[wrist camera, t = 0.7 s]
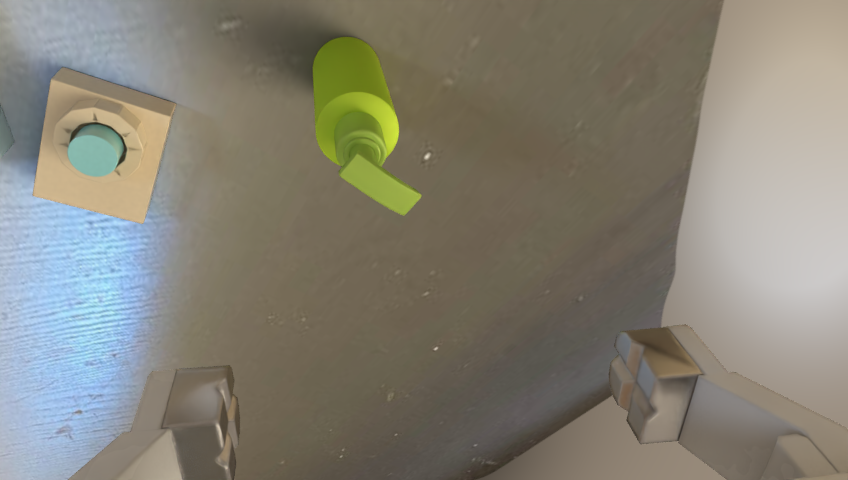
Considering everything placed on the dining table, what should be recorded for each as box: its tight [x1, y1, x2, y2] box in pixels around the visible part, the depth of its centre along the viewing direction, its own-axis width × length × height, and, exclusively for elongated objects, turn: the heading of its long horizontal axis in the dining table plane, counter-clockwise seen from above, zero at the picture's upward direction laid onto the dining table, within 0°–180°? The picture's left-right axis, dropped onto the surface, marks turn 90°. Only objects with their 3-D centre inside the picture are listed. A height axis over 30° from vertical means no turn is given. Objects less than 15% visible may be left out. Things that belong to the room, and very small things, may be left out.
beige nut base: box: [33, 67, 176, 224], centre depth 54 cm, size 11×9×5 cm
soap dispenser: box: [313, 37, 422, 215], centre depth 48 cm, size 6×7×20 cm
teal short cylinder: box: [67, 124, 124, 177], centre depth 51 cm, size 4×4×2 cm
